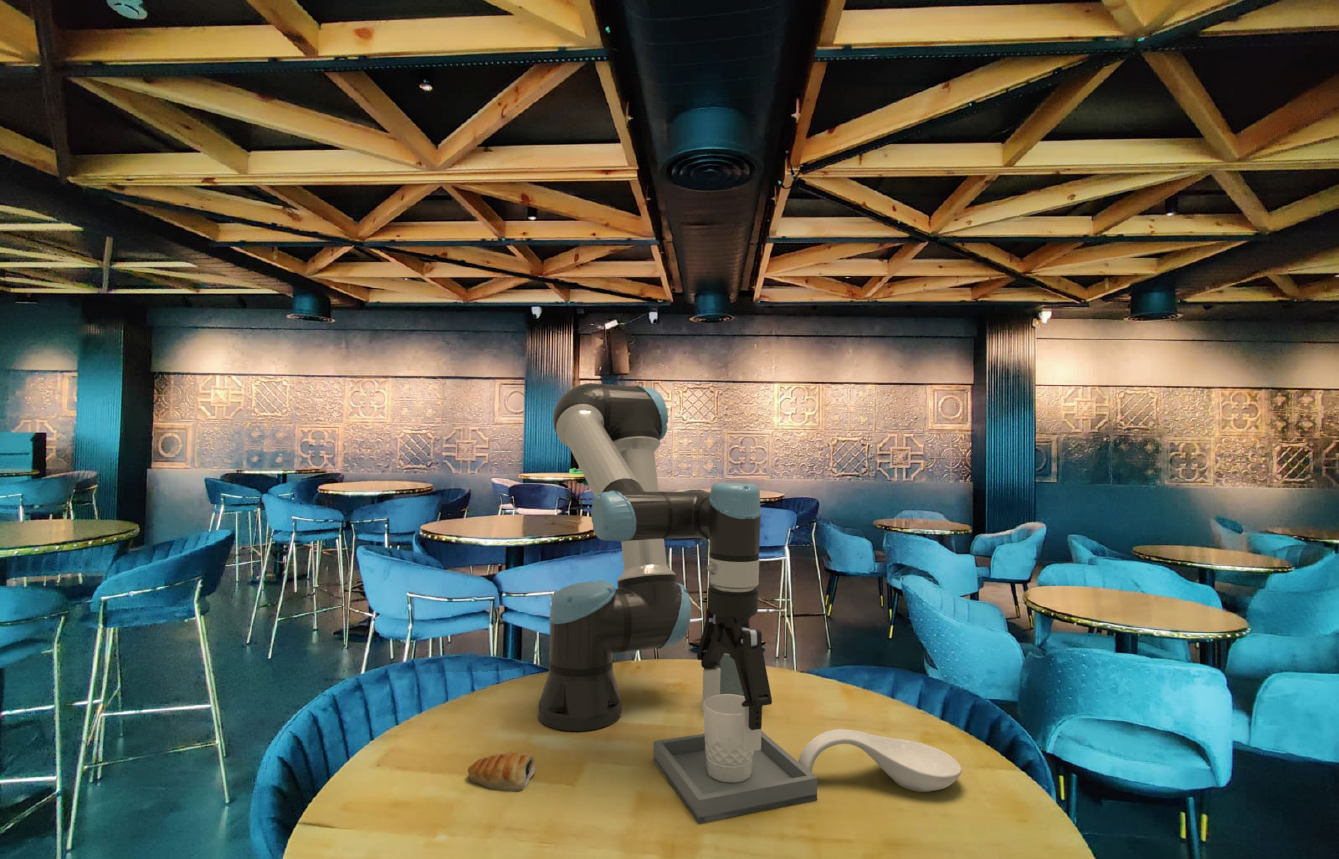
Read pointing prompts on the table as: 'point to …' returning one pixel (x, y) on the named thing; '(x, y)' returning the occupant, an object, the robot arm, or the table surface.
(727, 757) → the white cup
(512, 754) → the pastry
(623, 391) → the robot arm
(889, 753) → the spoon rest
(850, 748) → the table surface
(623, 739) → the table surface
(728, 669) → the grey-green cup
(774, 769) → the tray
